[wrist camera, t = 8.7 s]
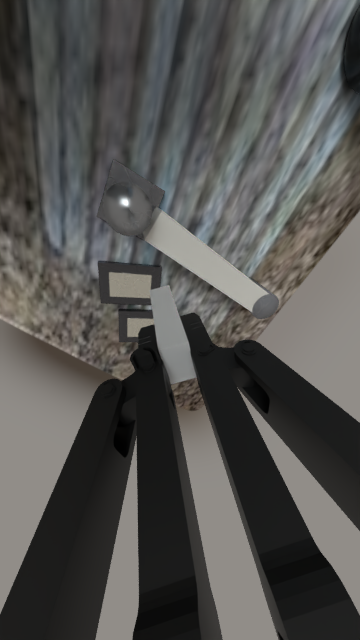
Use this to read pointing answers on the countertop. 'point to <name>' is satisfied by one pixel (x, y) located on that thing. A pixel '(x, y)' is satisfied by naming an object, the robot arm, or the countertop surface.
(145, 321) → the label plate
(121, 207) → the pivot post
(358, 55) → the supplement bottle
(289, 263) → the countertop surface
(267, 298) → the swing bar
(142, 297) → the label plate
